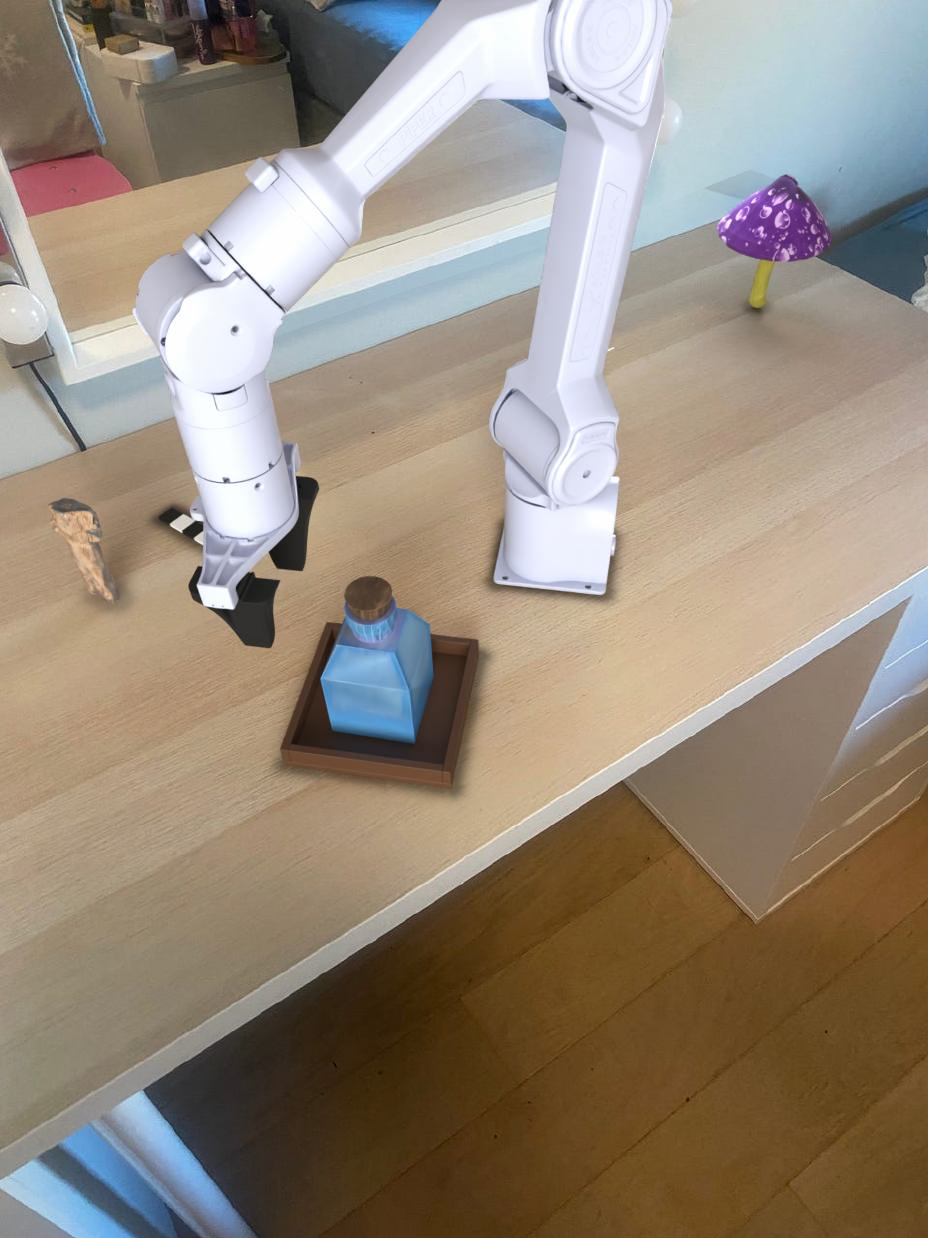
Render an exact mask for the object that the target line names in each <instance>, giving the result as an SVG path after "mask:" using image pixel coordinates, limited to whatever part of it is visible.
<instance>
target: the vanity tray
mask: <svg viewBox="0 0 928 1238" xmlns="http://www.w3.org/2000/svg"><path fill="white" fill-rule="evenodd" d="M342 623H343V622H342ZM342 623H341V622H332V621H326V623H325V625H324V627H323V631H322V633H321V635H320V636H321V637H320V639H319V641H318V645H317V647H316V649H315V653H314V655H313V658H312V661H311V662H310V663H311V664H310V665H309V668H308V672H307V674H306V677H305V679H304V682H303V685H302V687H301V690H300V693H299V696H298V698H297V702H296V703H295V706H294V710H293V712H292V715H291V717H290V720H289V723H288V725H287V728H286V732H285V734H284V737H283V740H282V743H281V745H280V748H279V752H280V755H281V758H282V761H283V764H284V766H286V767H293V768H298V769H299V768H300V769H308V770H313V771H320V772H321V771H322V772H329V773H336V774H343V775H349V776H357V777H365V778H370V779H371V778H372V779H378V780H385V781H392V782H399V783H400V782H401V783H408V784H416V785H420V786H421V785H422V786H429V787H437V788H444V789H451V790H452V788H453V783H454V778H455V775H456V774H455V773H456V768H457V764H458V759H459V753H460V751H461V745H462V740H463V735H464V730H465V725H466V724H465V723H466V721H467V715H468V710H469V706H470V702H471V696H472V692H473V688H474V687H473V686H474V681H475V677H476V672H477V667H478V662H479V657H480V649H479V648H480V647H479V646H480V645H479V644H480V643H479V642H480V641H479V638H477V639H476V638H470V637H462V636H453V635H443V634H437V633H436V634H435V633H430V636H431V649H432V663H433V677H434V678H433V681H432V685H431V688H430V692H429V696H428V699H427V703H426V706H425V710H424V713H423V717H422V720H421V724H420V727H419V731H418V734H417V738H416V741H415V744H412V743H405V742H399V741H393V740H386V739H380V738H374V737H367V736H361V735H355V734H348V733H342V732H336V731H332V726H331V722H330V717H329V713H328V709H327V704H326V700H325V695H324V691H323V686H322V682H321V677H322V674H323V672H324V669H325V666H326V664H327V661H328V659H329V656H330V654H331V651H332V648H333V646H334V643H335V641H336V638H337V636H338V633H339V630H340V628H341V625H342Z"/></svg>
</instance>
